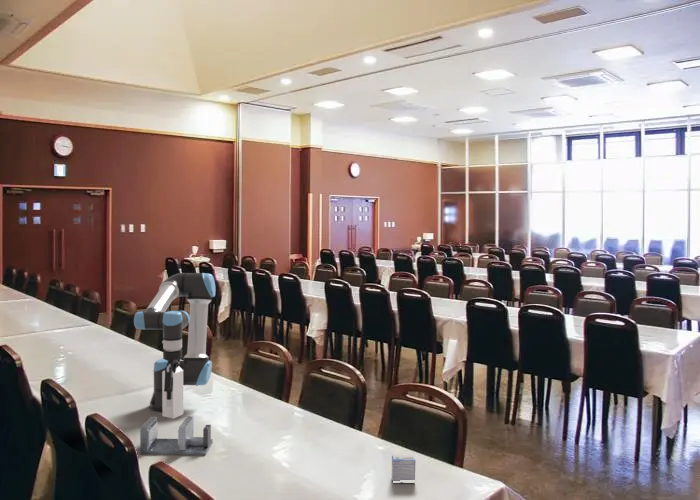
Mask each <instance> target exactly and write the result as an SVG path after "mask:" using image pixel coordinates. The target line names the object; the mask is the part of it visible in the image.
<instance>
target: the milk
mask: <svg viewBox="0 0 700 500" xmlns="http://www.w3.org/2000/svg"><path fill="white" fill-rule="evenodd" d="M172 378H173V407H166V392H164V385H165V370H164V371H163V372H162V411H161V412H162V417H165V418H168V419H173V420H174V419H177V418H178V417H181V416H182V415H184V385H183V370H182V369H181V368H180V367H179V366H178V367H177V368H176V372H175V373H174V371H172Z"/></svg>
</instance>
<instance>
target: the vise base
mask: <svg viewBox="0 0 700 500" xmlns="http://www.w3.org/2000/svg"><path fill="white" fill-rule="evenodd" d="M158 425H159V422H158V416H150V417H149V418H148V419H147V420H146V421H145V422H144V423H143V424H142V425H141V426H140V427H139V430H140V432H139V434H140V436H139V438H140V439H139V440H140V443H139V444H140V449H139V451H140V452H139V453H140V455H153V456H154V455H155V456H156V455H160V456H161V455H162V456H163V455H164V456H165V455H167V456H169V455H170V456H171V455H173V456H206V455H207V454H208V452H209V451H210V448H211V447H212V445H213V443H214V441H213V438H211V442H210V444H209V446H208V447H203V446H200V445H189V446H188V447H187V449H186V450H179V445H178V438H158V436H159V435H158V434H159V433H158V432H159V429H158Z"/></svg>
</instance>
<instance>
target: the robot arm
mask: <svg viewBox="0 0 700 500" xmlns="http://www.w3.org/2000/svg"><path fill="white" fill-rule="evenodd" d="M216 289H217V288H216V282H215V277H214V275H213V274H211V273H208V272H207V273H205V272H180V273H176V274H173V275H171V276H170V277H168V278H166V279H165V280H163V281H162V282H161V284H160V285H159V288H158V292H157V293H156V294H155V296H154V298H153V299H152V300H151V302H150V303H149V304H148V306H147V308H146V309H145V310H144V311H137V312H135V314H134V317H133V325H134V327H135V329H136V330H162V341H161V343H162V346H163V347H162V348H163V350H162V358H160V359H158V360H156V361H154V363H153V370H152V372H153V393H152V395H151V399H150V401H149V409H150V410H152V411H156V412H162V372H163V371H164V370H165V385H164V392H166V407H173V378H172V371H174V373H175V372H176V368H177V367H178V366H179V367H180V368H181V369H182V370H183V386H196V387H198V386H205V385H207V384H208V383H209V380H210V378H211V374H212V369H213V362H212V361H211V360H210V359H209V356H208V355H207V353H206V352H207V337H208V336H207V331H208V317H209V316H208V313H209V304H210V303H211V302H212V300H213V299H212V298H215V297H216ZM179 297H186V300H187V301H188V303H189V313H188V312H187V311H185V310H170V311H169V310H168V308H169V306H170V305H171V303H172V302H173V301H174V300H175V299H176V298H179ZM167 310H168V311H167ZM187 326H188V332H187V333H188V335H187V336H188V337H187V351H186V352H187V353H186V354H185V355H184V356H183V349H182V348H183V330H184V329H185V328H187ZM181 359H183V360H181Z"/></svg>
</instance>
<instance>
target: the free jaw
mask: <svg viewBox="0 0 700 500" xmlns="http://www.w3.org/2000/svg"><path fill="white" fill-rule="evenodd" d="M211 426H212V425H211V424H205V426H204V427H203V430H202V431H203V435H202V436H194V416H191V415H190V416H186V418H185V419H184V420H183V422H182V423H181V424H180V425H179V426H178V429H177V439H178V445H179V450H186V449H187V447H188V446H189V445H200V446H203V447H208V446H209V444H210V442H211V439H212V436H211V435H212V429H211V428H212V427H211Z"/></svg>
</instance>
